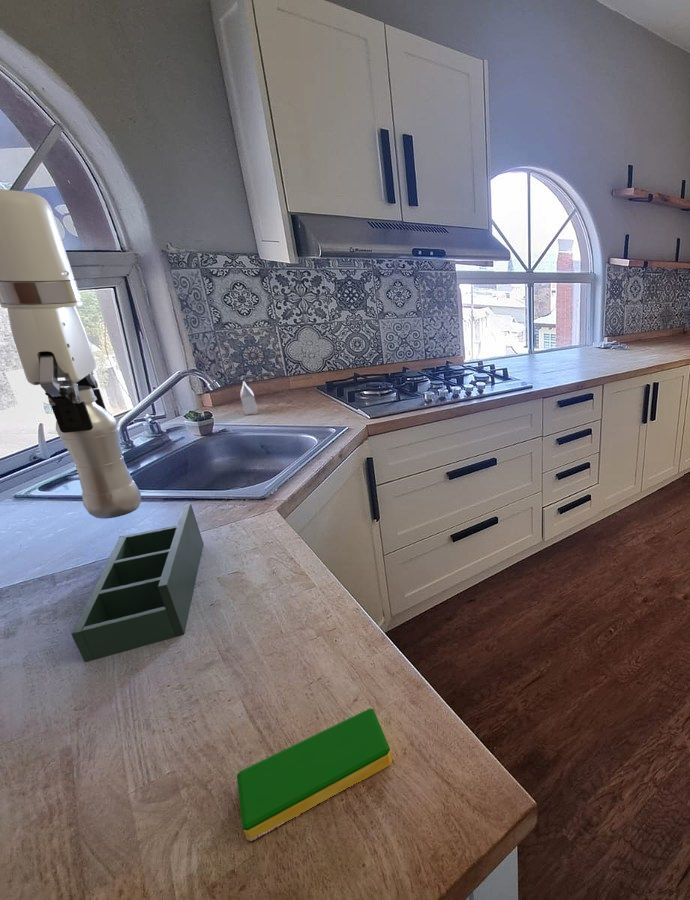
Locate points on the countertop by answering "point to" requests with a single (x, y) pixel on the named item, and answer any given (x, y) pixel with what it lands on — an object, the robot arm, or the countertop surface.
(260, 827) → the dish sponge
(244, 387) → the white gabled block
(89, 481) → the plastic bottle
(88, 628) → the box
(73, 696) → the countertop surface
